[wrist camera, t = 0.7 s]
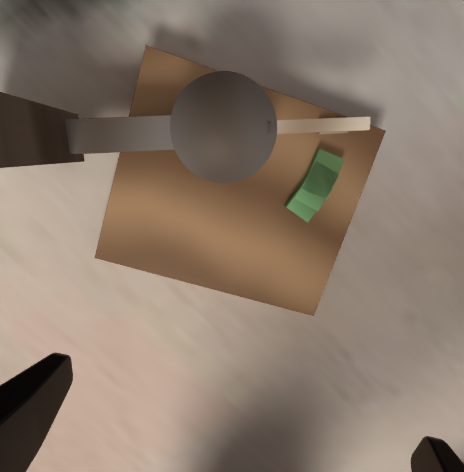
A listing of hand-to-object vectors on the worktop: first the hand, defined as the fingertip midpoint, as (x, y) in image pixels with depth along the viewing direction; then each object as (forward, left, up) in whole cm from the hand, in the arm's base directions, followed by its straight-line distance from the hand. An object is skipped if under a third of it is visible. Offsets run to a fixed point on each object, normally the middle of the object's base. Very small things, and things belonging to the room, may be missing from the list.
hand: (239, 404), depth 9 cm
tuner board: (+4, 0, -14) cm, 15 cm away
